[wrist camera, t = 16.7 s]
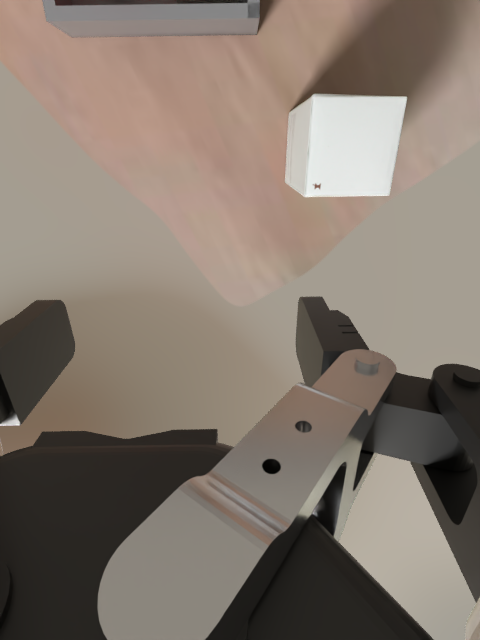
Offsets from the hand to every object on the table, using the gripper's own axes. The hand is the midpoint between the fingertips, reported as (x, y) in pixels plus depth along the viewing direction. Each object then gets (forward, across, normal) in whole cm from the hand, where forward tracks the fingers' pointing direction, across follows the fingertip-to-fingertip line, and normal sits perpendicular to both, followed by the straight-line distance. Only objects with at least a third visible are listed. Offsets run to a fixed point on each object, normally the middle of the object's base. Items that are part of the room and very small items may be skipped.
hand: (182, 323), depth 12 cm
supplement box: (+32, -11, -5) cm, 34 cm away
